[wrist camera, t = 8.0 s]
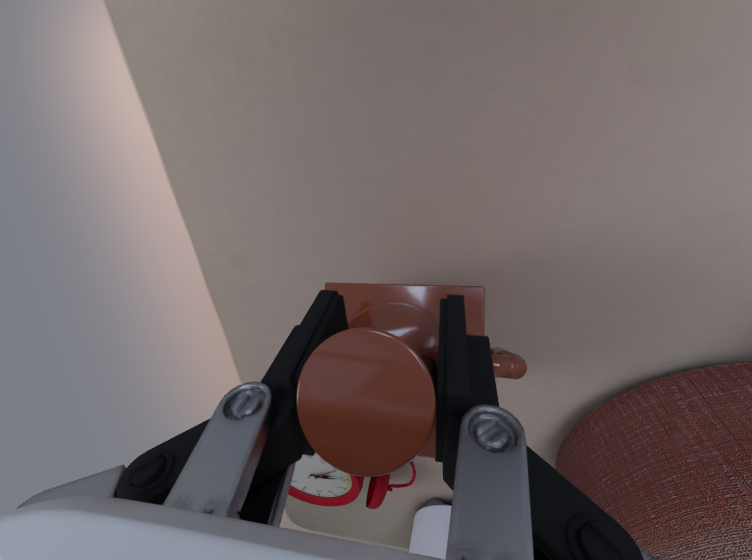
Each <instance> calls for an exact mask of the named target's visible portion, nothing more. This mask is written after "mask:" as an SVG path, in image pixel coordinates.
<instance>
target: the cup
mask: <svg viewBox="0 0 752 560" xmlns="http://www.w3.org/2000/svg"><path fill="white" fill-rule="evenodd" d="M451 507H452V505H447V504H444V503H443V502H442V501H441V500H439V499H436V498H435V499H431V500H430V501H429V502H428V503H427V504H426V505H425V506H424V507H423V508H421V509H418V510H417V511H416V513H415V518H414V523H413V529H412V535H411V542H410V548H409V552H410V553H415V554H420V555H425V556H430V557H435V558H440V559H446V550H447V542H448V533H449V524H450V515H451Z"/></svg>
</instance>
